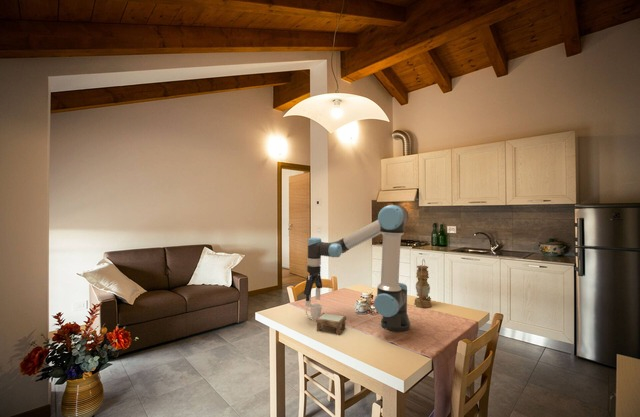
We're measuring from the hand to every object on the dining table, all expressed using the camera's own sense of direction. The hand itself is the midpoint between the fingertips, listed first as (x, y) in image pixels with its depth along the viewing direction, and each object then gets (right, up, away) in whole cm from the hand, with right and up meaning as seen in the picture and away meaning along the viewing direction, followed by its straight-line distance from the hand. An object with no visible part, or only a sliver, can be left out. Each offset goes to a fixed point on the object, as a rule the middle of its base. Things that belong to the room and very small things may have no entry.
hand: (313, 302), depth 170 cm
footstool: (+10, -10, -14) cm, 19 cm away
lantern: (+71, -10, +26) cm, 76 cm away
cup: (0, -10, 0) cm, 10 cm away
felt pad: (+10, -4, -14) cm, 17 cm away
